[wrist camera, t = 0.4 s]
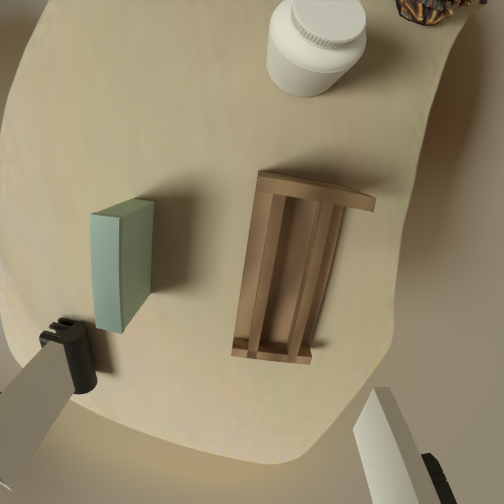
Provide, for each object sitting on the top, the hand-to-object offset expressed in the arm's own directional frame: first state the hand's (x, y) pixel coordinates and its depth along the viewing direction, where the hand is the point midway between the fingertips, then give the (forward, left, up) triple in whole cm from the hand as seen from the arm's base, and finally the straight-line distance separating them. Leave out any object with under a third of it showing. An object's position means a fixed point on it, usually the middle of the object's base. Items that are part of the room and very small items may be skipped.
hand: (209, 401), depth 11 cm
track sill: (+3, +6, -26) cm, 26 cm away
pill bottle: (-21, +4, -26) cm, 33 cm away
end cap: (+21, -23, -26) cm, 41 cm away
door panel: (+3, -12, -26) cm, 29 cm away
